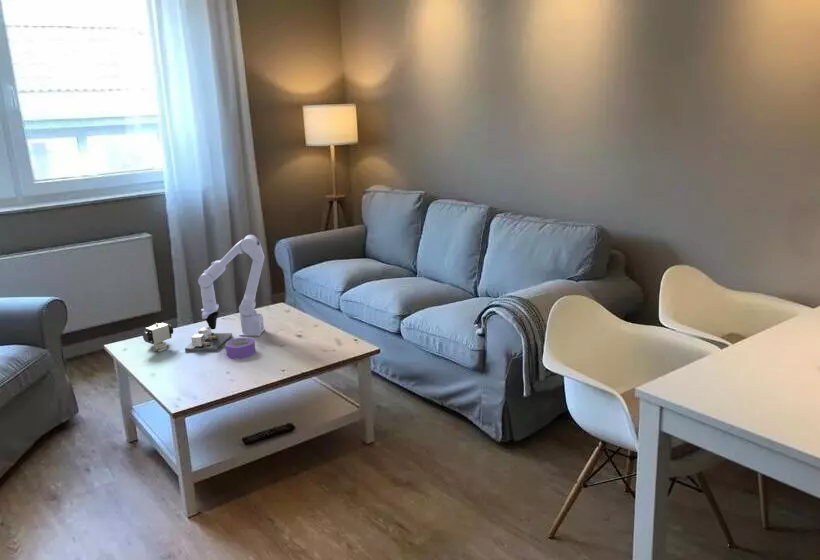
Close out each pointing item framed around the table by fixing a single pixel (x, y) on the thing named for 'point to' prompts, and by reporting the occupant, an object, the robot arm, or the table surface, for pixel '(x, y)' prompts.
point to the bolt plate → (207, 342)
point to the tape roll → (240, 347)
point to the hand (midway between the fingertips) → (212, 328)
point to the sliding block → (206, 332)
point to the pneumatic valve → (158, 335)
